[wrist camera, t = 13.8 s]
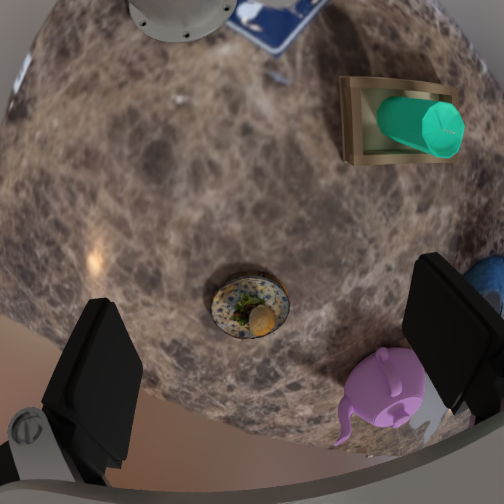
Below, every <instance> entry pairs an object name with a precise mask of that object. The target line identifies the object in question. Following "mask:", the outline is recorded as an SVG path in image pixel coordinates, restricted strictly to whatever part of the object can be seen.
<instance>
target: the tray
mask: <svg viewBox="0 0 504 504" xmlns="http://www.w3.org/2000/svg"><path fill="white" fill-rule="evenodd" d="M338 83H339V95H340V110H341V127H342V150H343V162H345V163H350V164H351V165H353V166H362V165H381V164H406V163H457V154H458V152H457V153H456V154H454V155H453V156H452V157H450V158H438V157H435V156H433V155H430V154H428V153H425V152H423V151H420V150H418V149H415V148H413V147H410V146H407V145H405V144H402V143H399V142H396V141H394V140H391V139H389V138H388V137H387V136H385V135H384V134H383V133H382V132H381V130H380V128H379V126H378V124H377V110H378V108H379V106H380V104H381V103H382V101H383V100H385V99H387V98H389V97H391V96H398V97H408V98H417V99H425V100H433V101H440V102H445V103H450V104H452V105H453V106H454V107H455V108H456V109H457V111H458V112H459V103H458V88H456V87H450V86H445V84H438V83H431V82H424V81H415V80H406V79H395V78H383V77H365V76H338Z"/></svg>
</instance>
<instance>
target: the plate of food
mask: <svg viewBox="0 0 504 504" xmlns="http://www.w3.org/2000/svg"><path fill="white" fill-rule="evenodd" d="M248 272H249V273H247V272H243V273H242V272H240V273H235V274H232V275H230V276H229V278H228V280H227V282H226V283H224V284H223V285H222V286H220V287H219V288H218V289H217V290H216V292H215V295H214V297H213V299H212V301H211V315H212V319H213V321H214V323H215V324H216V325H217V326H218V327H219V328H220V329H221V330H223V331H224V332H225V333H227V334H229V335H230V336H232V337H234V338H238V339H247V338H251V339H255V338H261V337H264V336H266V335H268V334H270V333H274V331H275V330H277V329H278V328H279V327H280V326H282V324H283V323H284V322H285V320H286V319H287V316H288V314H289V311H290V301H289V296H288V292H287V290H286V288H285V286H284V285H283V284H282V283H281V282H280V280H278V279H277V278H275V277H274V276H272V275H270V274H267V273H264V272H260V271H248ZM274 334H275V333H274Z"/></svg>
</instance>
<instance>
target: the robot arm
mask: <svg viewBox="0 0 504 504" xmlns="http://www.w3.org/2000/svg"><path fill="white" fill-rule="evenodd" d="M127 1H129V11H130V16H131V18H132V20H133V22H134V24H135V25H136V26H137V27H138V29H139V30H141V31H142V32H143V33H144V34H146V35H147V36H149V37H151V38H153V39H155V40H158V41H161V42H167V43H186V42H192V41H195V40H199V39H202V38H204V37H206V36H208V35H210V34H212V33H213V32H215V31H216V30H218V29H219V28H220V27H221V26H222V25H223V24H225V23H226V22H227V20H228V19H229V18H230V16H231V15H232V13H233V11H234V9H235V7H236V4H237V0H127ZM226 8H228V9H229V10H228V11H225V9H226ZM144 23H146V25H145V26H143V24H144ZM187 34H189V37H188V38H186V37H185V36H186V35H187ZM402 331H403V334H404V336H405V337H406V339H407V341H408V342H409V344H410V346H411V347H412V349H413V351H414V352H415V354H416V356H417V357H418V359H419V361H420V362H421V364H422V366H423V367H424V369H425V371H426V373H427V374H428V376H429V378H430V380H431V381H432V383H433V385H434V387H435V388H436V390H437V392H438V394H439V396H440V398H441V399H442V401H443V403H444V405H445V406H446V407H447V408H449V409H451V411H452V413H453V415H457V414H459V413H461V412H463V411H465V410H467V409H468V407H469V409H470V411H471V416H470V421H469V426H468V429H466V430H464V431H462V432H460V433H458V434H456V435H454V436H452V437H449V438H447V439H445V440H443V441H440V442H438V443H436V444H433V445H431V446H428V447H426V448H423V449H421V450H418V451H416V452H413V453H410V454H408V455H405V456H402V457H399V458H396V459H393V460H390V461H387V462H384V463H381V464H378V465H374V466H371V467H368V468H365V469H361V470H357V471H353V472H349V473H346V474H342V475H338V476H333V477H328V478H324V479H319V480H314V481H309V482H303V483H297V484H291V485H284V486H277V487H270V488H261V489H251V490H239V491H224V492H162V491H147V490H134V489H123V488H114V487H112V485H111V484H110V482H109V481H108V479H107V478H106V476H105V470H106V467H109V468H119V469H121V465H122V460H126V458H127V454H128V448H129V442H130V436H131V430H132V424H133V419H134V413H135V408H136V403H137V398H138V393H139V388H140V383H141V378H142V374H143V365H142V362H141V360H140V358H139V356H138V353H137V351H136V349H135V347H134V345H133V343H132V341H131V339H130V337H129V334H128V332H127V330H126V328H125V325H124V323H123V321H122V319H121V316H120V314H119V312H118V309H117V307H116V305H115V303H114V302H110V300H109V299H108V298H98V299H90V300H89V301H88V303H87V304H86V306H85V308H84V310H83V312H82V314H81V316H80V318H79V320H78V322H77V324H76V326H75V328H74V330H73V332H72V334H71V336H70V338H69V340H68V342H67V344H66V346H65V348H64V350H63V352H62V355H61V357H60V359H59V361H58V363H57V366H56V368H55V370H54V372H53V375H52V377H51V379H50V382H49V384H48V386H47V389H46V391H45V393H44V396H43V398H42V401H41V402H42V404H43V408H42V410H40V409H39V408H36V407H27V408H24V409H22V410H20V411H19V412H18V413H16V414H15V415H14V417H13V418H12V419H11V421H10V423H9V425H8V431H7V434H8V441H6V442H5V443H3V444H2V445H0V504H504V320H503V318H502V317H501V316H500V315H499V314H498V313H497V312H496V311H495V310H494V308H493V307H492V306H491V305H490V304H489V303H488V302H487V301H486V300H485V299H484V298H483V297H482V296H481V295H480V294H479V293H478V291H477V290H476V289H475V288H474V287H473V286H472V285H471V284H470V283H469V282H468V281H467V280H466V279H465V278H464V277H463V276H462V275H461V274H460V273H459V272H458V271H457V270H456V269H455V268H454V267H453V266H451V265H450V264H449V263H448V262H447V261H446V260H445V259H444V258H443V257H442V256H441V255H440V254H439V253H437V252H433V253H427V254H422V255H420V256H419V258H418V260H416V262H415V264H414V269H413V275H412V280H411V285H410V291H409V295H408V300H407V305H406V309H405V314H404V318H403V322H402Z"/></svg>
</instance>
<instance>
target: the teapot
mask: <svg viewBox="0 0 504 504" xmlns="http://www.w3.org/2000/svg"><path fill="white" fill-rule="evenodd" d="M424 387H425V371H424V367H423V366H422V364H421V362H420V361H419V359H418V357H417V356H416V354H415V352H414V351H412V350H410V349H406V348H398V347H392V348H385V347H380V348H379V349H378V350H377V351H376V352H375V353H373V354H371V355H369V356H368V357H366V358H365V359H363V360H362V361H361V362H360V363H358V364H357V365H356V366H355V367H354V369H353V370H352V372H351V373H350V375H349V377H348V379H347V381H346V383H345V386H344V396H343V398H342V399H341V401H340V403H339V405H338V416H339V421H340V425H341V435H340V437H339V439H338V440H337V442H336V443H335V444H334V446H336V445H338V444H340V443H342V442H344V441H345V440H346V439H347V438H348V437H349V436H350V433H351V425H350V421H349V418H350V415H351V414H352V413H353V411H354V412H355V413H356V414H357V415H358V416H360V417H361V418H363V419H364V420H366V421H367V422H369V423H371V424H373V425H375V426H378V427H387V426H391V427H392V428H397V427H399V426H401V424H404V423H405V422H407V421H408V420H409V419H410V416H411V415H412V414H413V413H415V412H416V411H417V409H418V408H419V407H420V405H421V403H422V400H423V395H424Z"/></svg>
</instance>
